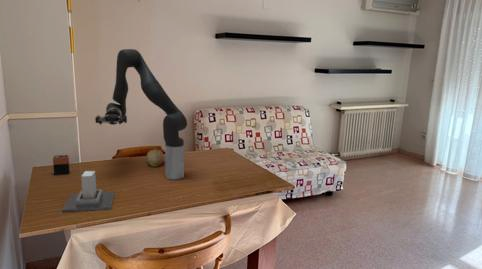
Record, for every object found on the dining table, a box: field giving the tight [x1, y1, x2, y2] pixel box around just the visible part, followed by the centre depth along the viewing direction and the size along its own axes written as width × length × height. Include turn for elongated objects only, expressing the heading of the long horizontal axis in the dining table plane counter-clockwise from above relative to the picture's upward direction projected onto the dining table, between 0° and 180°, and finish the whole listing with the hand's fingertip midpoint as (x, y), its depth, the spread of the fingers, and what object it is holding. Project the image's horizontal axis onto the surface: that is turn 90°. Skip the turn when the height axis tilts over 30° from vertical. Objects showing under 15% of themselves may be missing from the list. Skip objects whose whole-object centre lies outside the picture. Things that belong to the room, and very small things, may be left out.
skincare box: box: [80, 170, 97, 199], centre depth 144 cm, size 6×4×12 cm
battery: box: [52, 153, 70, 176], centre depth 175 cm, size 4×7×10 cm, turn 111°
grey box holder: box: [61, 188, 115, 213], centre depth 145 cm, size 18×16×4 cm
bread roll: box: [146, 149, 165, 168], centre depth 198 cm, size 10×15×8 cm, turn 18°
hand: (110, 122), depth 161 cm, fingers open, 8 cm apart
